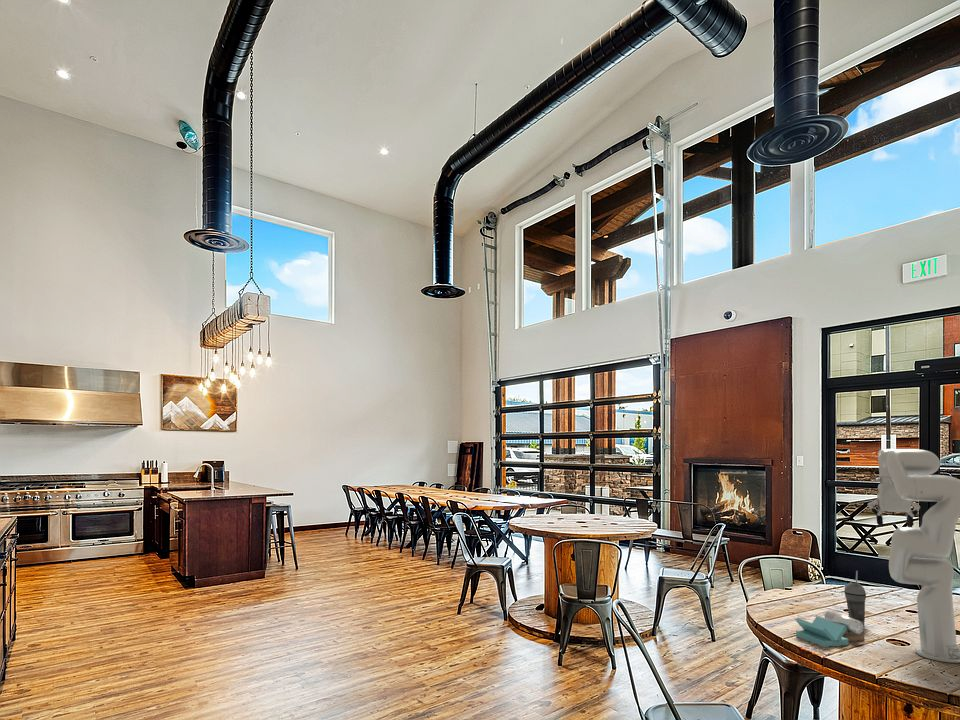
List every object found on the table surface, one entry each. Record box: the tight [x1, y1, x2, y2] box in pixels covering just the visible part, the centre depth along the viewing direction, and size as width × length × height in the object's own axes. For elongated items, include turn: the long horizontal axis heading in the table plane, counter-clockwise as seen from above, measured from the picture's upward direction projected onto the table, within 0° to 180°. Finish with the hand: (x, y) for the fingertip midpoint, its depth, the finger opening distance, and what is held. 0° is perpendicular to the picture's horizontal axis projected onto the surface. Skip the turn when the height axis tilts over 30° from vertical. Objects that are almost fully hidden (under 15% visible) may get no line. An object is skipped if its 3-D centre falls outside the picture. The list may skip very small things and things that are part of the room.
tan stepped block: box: [842, 629, 865, 643], centre depth 213 cm, size 10×9×4 cm
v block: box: [795, 616, 850, 648], centre depth 208 cm, size 12×10×6 cm
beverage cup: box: [843, 570, 867, 627], centre depth 228 cm, size 7×7×20 cm
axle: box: [824, 610, 864, 634], centre depth 212 cm, size 12×4×4 cm, turn 16°
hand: (895, 526), depth 229 cm, fingers open, 9 cm apart
